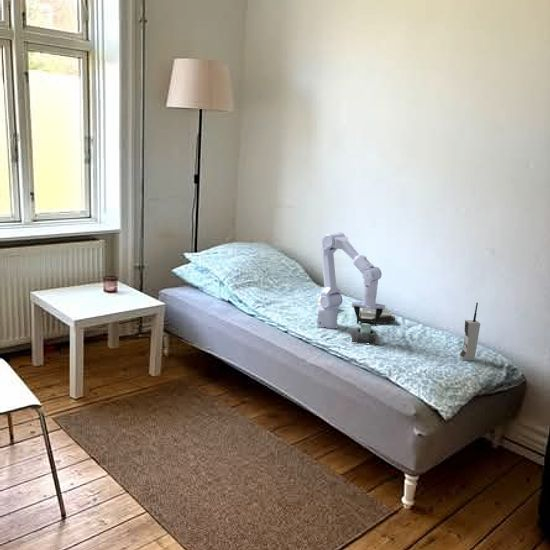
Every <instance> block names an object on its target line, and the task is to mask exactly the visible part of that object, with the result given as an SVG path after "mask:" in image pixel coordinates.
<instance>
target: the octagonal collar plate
mask: <svg viewBox="0 0 550 550" xmlns="http://www.w3.org/2000/svg"><path fill="white" fill-rule="evenodd" d="M360 331H361V327H357V328H355V329H354V331H350V338H351V337H352V340H351V343H352V342H357V343H369V344H375V345H374V346H378V345H379V346H380V344H381V343H380V339H379V335H378V334H377V331H376V330H374V329H373V328H371V332H370V334H363V333H360ZM357 343H356V344H357Z"/></svg>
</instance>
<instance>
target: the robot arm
mask: <svg viewBox="0 0 550 550" xmlns="http://www.w3.org/2000/svg"><path fill="white" fill-rule="evenodd" d="M321 245H322V246H321V248H320V250H321V251H320V252H321V263H322V272H323V284H324V286H323V287H324V288H323V289H322V291H321V292H320V296H321V298H320V303H321V306H322V307H319V306H318V312H317V317H316V322H317V324H316V325H317V327H318V328H324V327H326V328H325V329H335V328H337V329H338V327H339V326H338V315H339V308H340V305H342V303H343V296H342V293H341V290H340V288H338V286H337V279H336V277H337V276H336V270H335V269H336V268H335V267H336V266H335V257H334V256H335V255H334V254H335V252H336V251H337V250H342V251H343V252H344V253H345V254H347V256H349V257H350V258H351V260H353V266H355V267H356V269H357V270H358V271H359V272H360V273H361V275H362V279H363V295H362V301H356V302H355V301H352V302H351V308H353V309H354V313H355V316H356V324H357V325H358V324H359V323H360V322H359V316H360V311H361V309H363V308H369V309H376V315H375V321H374V322H373V324H374V326H376V325H377V324H378V323H377V321H378V319H379V317H380V316H381V314H382V312H383V311H382V310H385V308H386V305H385V304H380V303H377V302H376V301H377V294H378V293H377V292H378V287H379V286H378V285H379V280H380V279H381V278H382V275H383V274H382V271H381V269H380V268H379V267H378V266H375V265H373V263H371V262H370V261H369V260H368V259H367V258H368V257H367V256H366V255H362V254H359V253H358V251H357V250H356V249H355V248H354V246H353V245H352V244H351V243H350V242H349V238H348V237H347V236H346V235H345V234H344V232H341V231H340V232H336V233H327V234H324V236H323V237H322V238H321Z"/></svg>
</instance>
